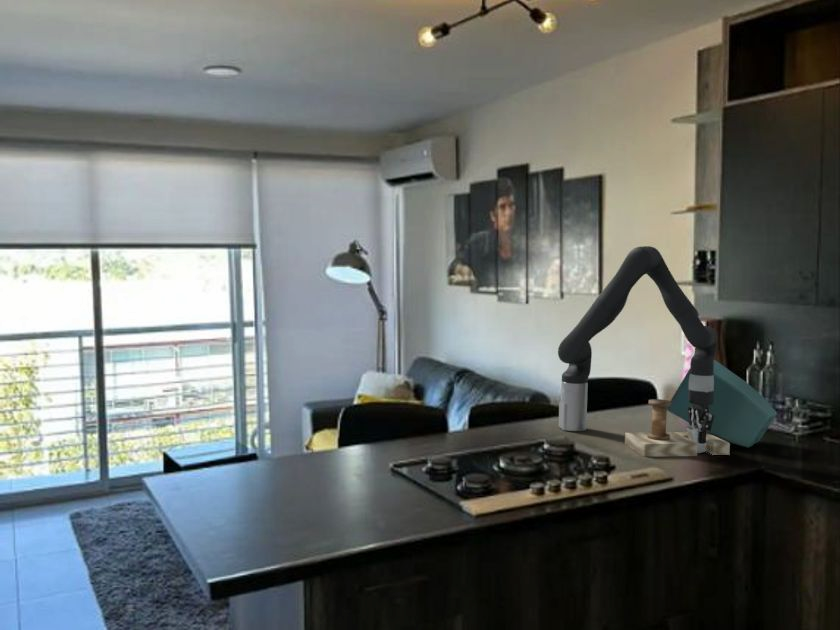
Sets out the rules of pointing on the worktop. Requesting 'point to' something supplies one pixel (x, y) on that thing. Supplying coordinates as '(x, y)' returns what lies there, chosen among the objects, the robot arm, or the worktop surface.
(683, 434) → the notched board
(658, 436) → the bobbin
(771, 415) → the flower pot
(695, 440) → the tab peg
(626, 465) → the worktop surface
